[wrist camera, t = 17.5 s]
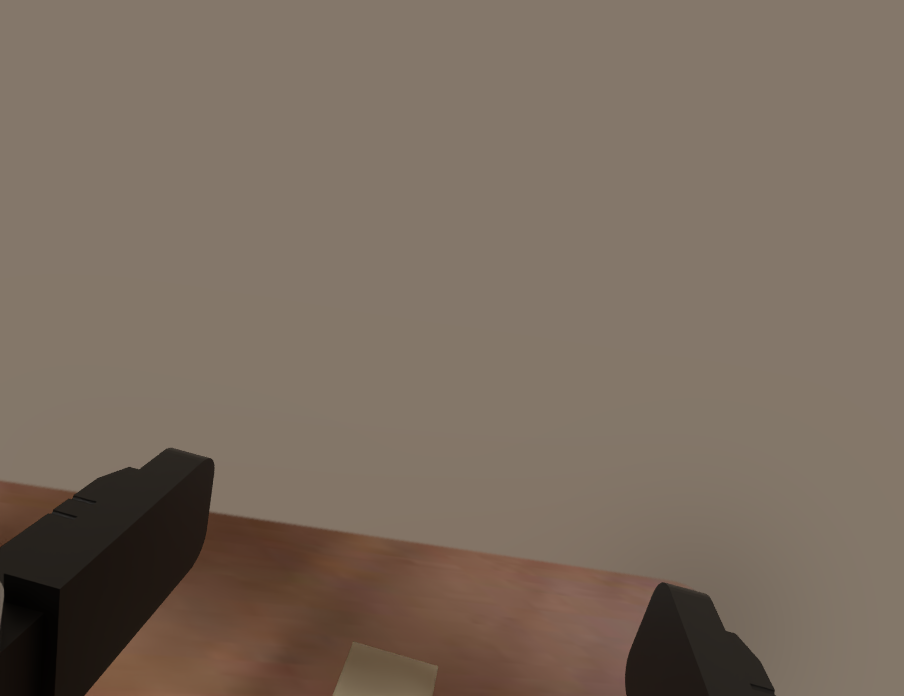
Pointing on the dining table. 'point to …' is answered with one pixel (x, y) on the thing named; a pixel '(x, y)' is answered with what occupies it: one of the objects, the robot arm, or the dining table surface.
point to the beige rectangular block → (384, 674)
